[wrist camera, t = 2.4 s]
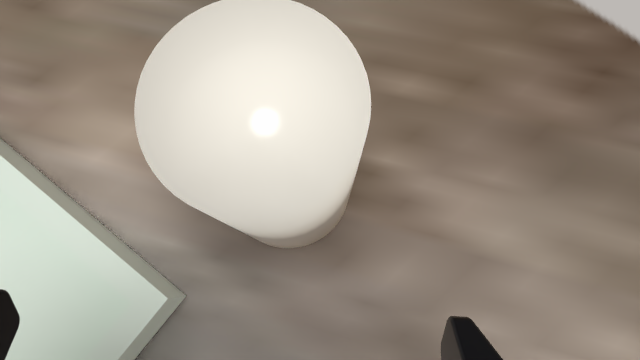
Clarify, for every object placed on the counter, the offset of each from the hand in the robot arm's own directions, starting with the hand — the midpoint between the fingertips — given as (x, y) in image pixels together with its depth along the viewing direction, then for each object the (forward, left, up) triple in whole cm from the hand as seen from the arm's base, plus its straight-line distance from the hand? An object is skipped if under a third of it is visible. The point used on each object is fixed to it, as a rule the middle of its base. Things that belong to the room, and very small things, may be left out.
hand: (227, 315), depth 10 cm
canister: (+3, -4, -11) cm, 12 cm away
